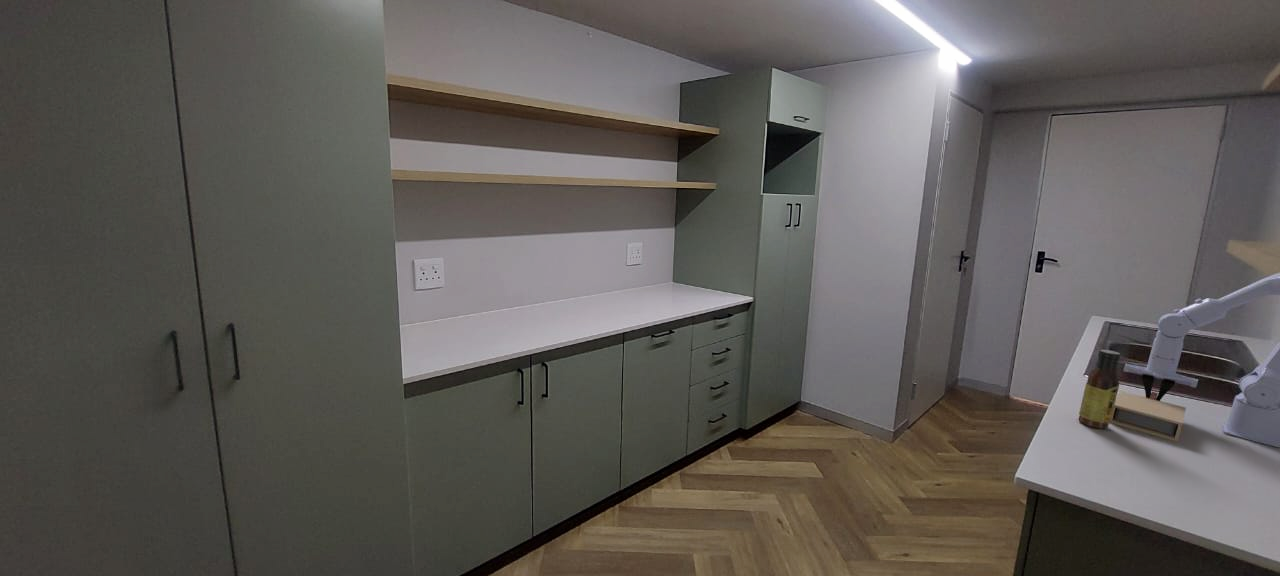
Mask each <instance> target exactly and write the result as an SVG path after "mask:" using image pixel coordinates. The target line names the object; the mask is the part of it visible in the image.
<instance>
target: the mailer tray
mask: <svg viewBox="0 0 1280 576" xmlns="http://www.w3.org/2000/svg"><path fill="white" fill-rule="evenodd" d="M1158 393H1159V392H1156V391H1152V390H1151V395H1150V399H1154V400H1156V398H1157V396H1158ZM1115 419H1117V420H1120V421H1124V422H1127V423H1131V424H1134V425H1138V426H1141V427H1145V428H1149V429H1152V430H1156V431H1159V432H1163V433H1166V434H1170V435H1173V434H1174V431H1175V428H1176V424H1175V423H1171V422H1167V421H1164V420H1160V419H1156V418H1153V417H1149V416H1145V415H1141V414H1138V413H1134V412H1130V411H1127V410H1123V409H1119V408H1117V412H1116V415H1115Z"/></svg>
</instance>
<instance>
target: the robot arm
mask: <svg viewBox="0 0 1280 576" xmlns="http://www.w3.org/2000/svg"><path fill="white" fill-rule="evenodd" d="M1269 295H1270V296H1271V295H1278V296H1279V295H1280V272H1277V273H1274V274H1272V275H1270V276H1267V277H1265V278H1262V279H1260V280H1258V281H1255V282H1253V283H1251V284H1249V285H1247V286H1245V287H1242V288H1239V289H1238V290H1236V291H1233V292H1231V293H1229V294H1226V295H1224V296H1223V297H1220V298H1217V299H1216V298H1209V297H1206V298H1204V299H1202V298H1198V299H1196V300H1194V302H1195V303H1192V304H1190V305H1188V306H1184V307H1183V308H1181V309H1178V308H1176V309H1173V313H1167V314H1164V315H1162V316H1161V317H1160V318H1159V320H1157V327H1158V329H1157V331H1156V333H1155V338H1154V340H1153V343H1152V346H1151V349H1150V354H1149V357H1148V361H1147V365H1146V366H1142V365H1136V364H1129V363H1125V365H1124V368H1123V372H1126V373H1133V374H1137V375H1141V381H1142V384H1143V387H1144V392H1145V393H1144V394H1145V397H1146V398H1150V395H1151V393H1152V390H1153V385H1154V383H1155V379H1159V380H1161V382H1160V387H1159V389H1158V390H1159V391H1158V392H1157V393H1158V395H1157V398H1156V400H1158V401H1162V398H1163V397H1164V396H1166V394H1167V393H1168V392H1169V391H1170V390H1171V389H1172V388H1173V387H1174V386H1175V383H1176V384H1181V385H1184V386H1190V387H1191V388H1194V389H1195V388H1197V385H1198V383H1199V382H1198V381H1199V379H1198V378H1194V377H1189V376H1186V375H1182V374H1179V373H1177V369H1178V366H1179V362H1180V358H1181V354H1182V351H1183V347H1184V339H1185V336H1186V335H1188V334H1189V333H1190V331H1191V330H1193V329H1196V330H1197V329H1198V328H1201V327H1203V326H1206V325H1209V324H1211V323H1213V322H1215V321H1218V320H1220V319H1224V318H1225V317H1226V316H1227V312H1228V311H1229V310H1232V309H1234V308H1236V307H1239V306H1242V305H1245V304H1247V303H1251V302H1253V301H1255V300H1258V299H1261V298H1263V297H1266V296H1269ZM1238 381H1239V382H1238V387H1239V389H1240V391H1241V392H1240V393H1239V394H1237V395H1235V396H1234V399H1233V402H1232V407H1231V409H1230V413H1229V415H1228V418H1227V422H1226V423H1222V433H1224V434H1226V435H1230V436H1234V437H1238V438H1241V439H1245V440H1248V441H1249V440H1250V441H1253V442H1256V443H1260V444H1264V445H1267V446H1272V447H1276V448H1280V408H1279V403H1280V341H1279V342H1278V343H1277V344H1276V345H1275V347H1274V348H1273V349H1272V350H1271V351H1270V353H1269V355H1268V356H1267V357H1266V358H1265V360H1264V361H1263V362H1262V363H1261V364H1258V366H1256V367H1255V369H1254V370H1252V372H1250V373H1249V374H1246V375H1244V376H1242V377H1241V378H1240V379H1239V380H1238Z"/></svg>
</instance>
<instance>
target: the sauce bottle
mask: <svg viewBox="0 0 1280 576" xmlns="http://www.w3.org/2000/svg"><path fill="white" fill-rule="evenodd" d="M1120 359H1121V353H1120V352H1118V351H1114V350H1109V349H1100V350H1099V352H1098V361H1097V363H1096V367H1095V368H1094V369H1093V370H1091V371H1090V372H1089V374H1088V376H1087V381H1086V383H1085V387H1084V392H1083V396H1082V400H1081V405H1080V408H1079V413H1078V421H1079V422H1080V423H1081V424H1082V425H1085V426H1087V427H1090V428H1095V429H1108V428H1109V425H1110V420H1111V416H1112V412H1113V408H1114V405H1115V400H1116V398H1117V397H1118V391H1119V388H1120V387H1119V386H1120V381H1119V377H1118V373H1117V367H1118V363H1119V360H1120Z"/></svg>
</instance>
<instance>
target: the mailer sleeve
mask: <svg viewBox="0 0 1280 576" xmlns="http://www.w3.org/2000/svg"><path fill="white" fill-rule="evenodd" d="M1117 408H1119V409H1123V410H1127V411H1130V412H1134V413H1138V414H1141V415H1145V416H1149V417H1153V418H1156V419H1160V420H1164V421H1167V422H1171V423H1175V424H1176V428H1175V431H1174V434H1173V435H1170V434H1166V433H1163V432H1159V431H1156V430H1152V429H1149V428H1145V427H1141V426H1138V425H1134V424H1131V423H1127V422H1124V421H1120V420H1117V419H1115V415H1116V412H1117ZM1186 410H1187V407H1186V406H1181V405H1177V404H1173V403H1170V402H1169V403H1168V402H1165V401H1162V400H1160V401H1158V400H1154V399H1150V398H1146V396H1143V395H1142V396H1141V395H1137V394H1133V393H1131V392H1130V393H1129V392H1124V391H1120V392H1119V393H1118V394H1117V396H1116V400H1115V405H1114V408H1113V412H1112V416H1111V420H1110V423H1111V424H1113V425H1118V426H1121V427H1125V428H1128V429H1132V430H1135V431H1138V432H1142V433H1145V434H1148V435H1149V434H1150V435H1153V436H1156V437H1158V438H1159V437H1160V438H1163V439H1167V440H1169V441H1173V442H1176V443H1178V442H1179V441H1178V440H1179V438H1180V435H1181V430H1182V428H1183V424H1184V421H1185V420H1184V418H1185V415H1186ZM1110 423H1109V424H1110Z"/></svg>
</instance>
